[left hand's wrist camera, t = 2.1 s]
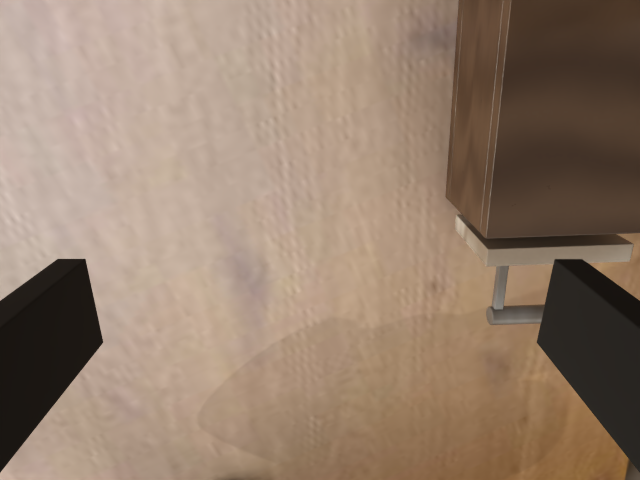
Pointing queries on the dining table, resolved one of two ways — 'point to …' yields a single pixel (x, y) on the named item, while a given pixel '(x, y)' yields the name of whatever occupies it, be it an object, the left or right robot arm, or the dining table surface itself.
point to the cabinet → (546, 117)
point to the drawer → (535, 262)
